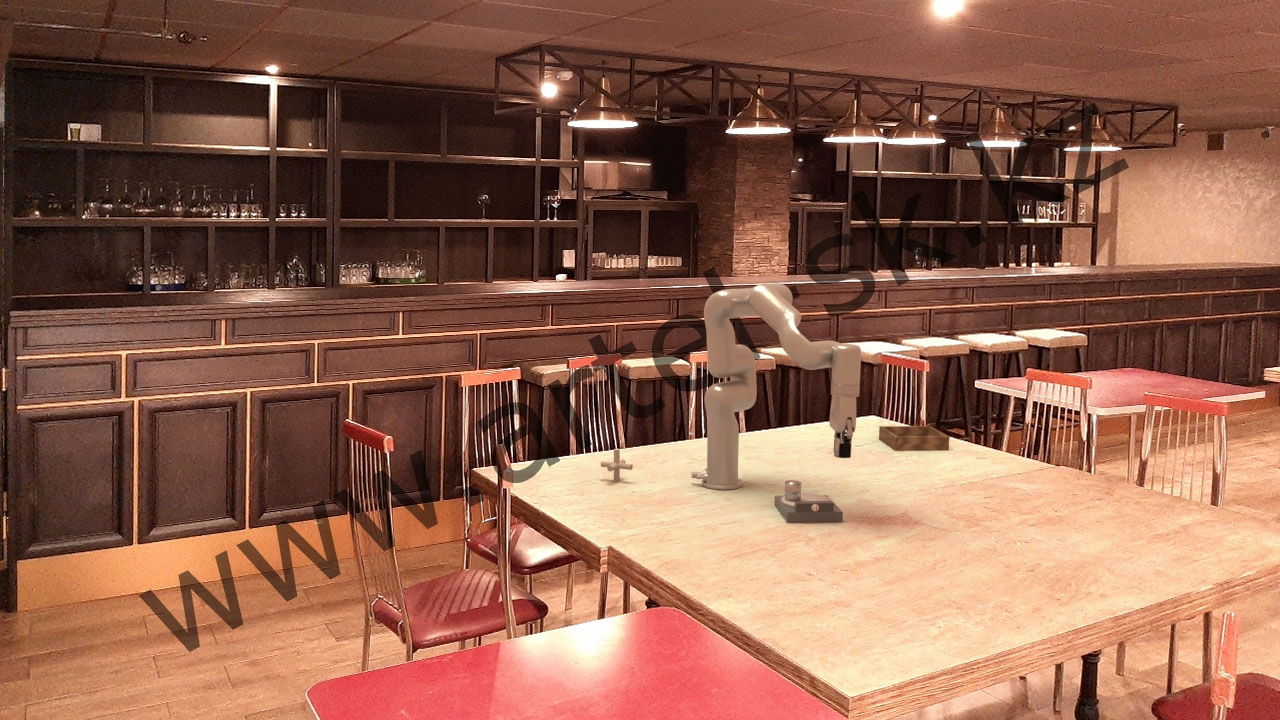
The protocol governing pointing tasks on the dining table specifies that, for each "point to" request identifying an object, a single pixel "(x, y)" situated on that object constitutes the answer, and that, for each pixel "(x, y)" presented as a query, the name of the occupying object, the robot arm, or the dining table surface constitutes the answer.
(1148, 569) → the dining table surface
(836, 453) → the cylinder
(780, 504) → the scale
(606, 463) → the pipe connector
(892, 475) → the dining table surface
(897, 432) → the brown wooden tray
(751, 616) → the dining table surface
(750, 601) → the dining table surface
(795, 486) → the cylinder
